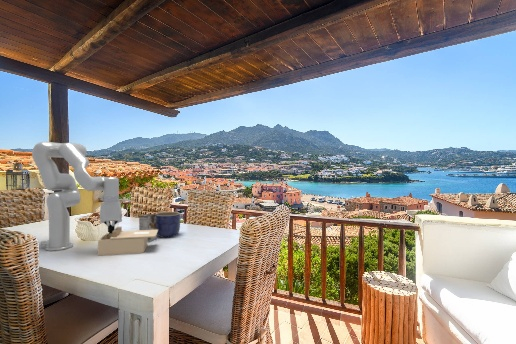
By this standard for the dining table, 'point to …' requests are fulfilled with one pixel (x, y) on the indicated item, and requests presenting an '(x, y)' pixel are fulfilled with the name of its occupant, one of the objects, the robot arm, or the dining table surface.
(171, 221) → the planter
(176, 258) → the dining table surface
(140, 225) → the coffee box
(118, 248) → the box
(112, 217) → the robot arm
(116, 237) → the lid
